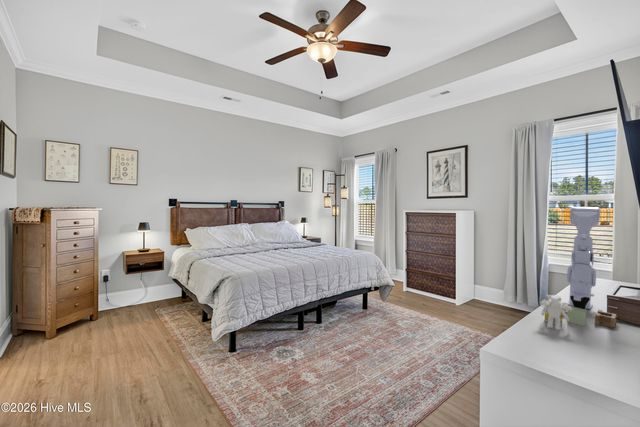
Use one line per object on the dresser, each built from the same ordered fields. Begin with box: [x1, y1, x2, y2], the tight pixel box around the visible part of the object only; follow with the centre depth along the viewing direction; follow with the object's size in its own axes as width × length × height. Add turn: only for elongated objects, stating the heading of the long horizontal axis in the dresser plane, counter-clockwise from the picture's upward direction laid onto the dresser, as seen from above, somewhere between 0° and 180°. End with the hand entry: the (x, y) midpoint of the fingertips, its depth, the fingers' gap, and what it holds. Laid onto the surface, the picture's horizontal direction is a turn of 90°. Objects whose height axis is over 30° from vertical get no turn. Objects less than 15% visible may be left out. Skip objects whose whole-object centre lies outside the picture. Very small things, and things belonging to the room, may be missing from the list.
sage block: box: [566, 305, 588, 327], centre depth 118 cm, size 5×5×5 cm
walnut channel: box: [561, 302, 617, 328], centre depth 122 cm, size 10×16×4 cm, turn 43°
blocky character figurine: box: [539, 293, 571, 331], centre depth 112 cm, size 9×4×12 cm, turn 43°
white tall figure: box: [544, 294, 564, 325], centre depth 118 cm, size 5×5×10 cm
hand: (579, 315), depth 122 cm, fingers closed
